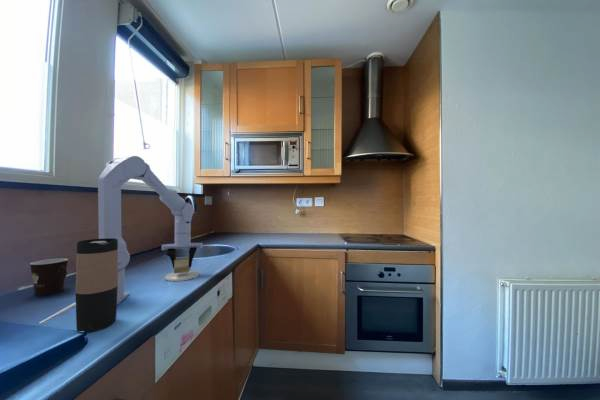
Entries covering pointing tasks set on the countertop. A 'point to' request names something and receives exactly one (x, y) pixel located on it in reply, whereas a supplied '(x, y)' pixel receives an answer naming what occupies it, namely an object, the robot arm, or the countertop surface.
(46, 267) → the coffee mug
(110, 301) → the travel mug
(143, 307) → the countertop surface
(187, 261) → the beech cube
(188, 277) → the saucer
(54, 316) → the fork
